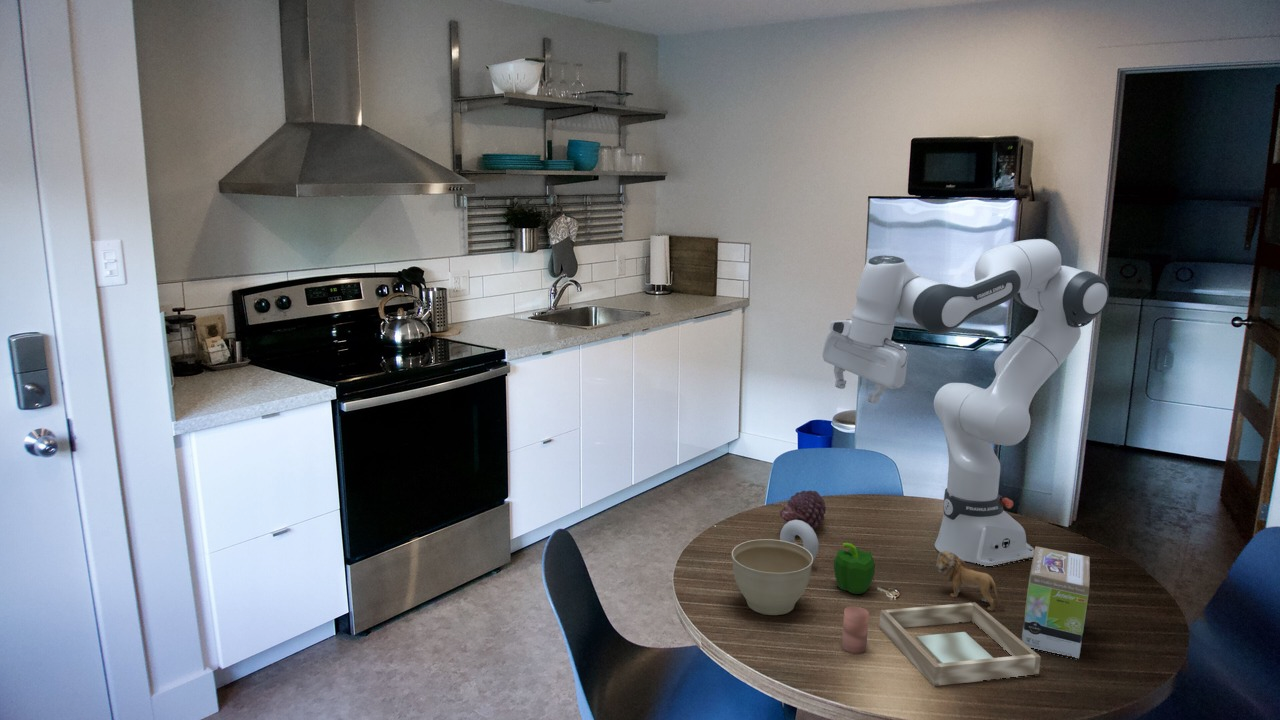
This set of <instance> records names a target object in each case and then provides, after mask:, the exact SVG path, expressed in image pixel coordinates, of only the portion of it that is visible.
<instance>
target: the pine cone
mask: <svg viewBox="0 0 1280 720" xmlns="http://www.w3.org/2000/svg"><path fill="white" fill-rule="evenodd" d="M826 507H827V506H826V501H825V500H824V498H822V496H821V495H820V493H819V492H818V491H816V490H802V491H801V492H795V494H794V495H791V497H790V499H788V501H787V504H786V503H784V505H783V508H782V510H781V511H779V515H780V517H781V518H782V519H783V520H784V521H785V523H788V522H789V521H792V520H800V521H803V522H805V523H807V524H808V525H809V526H810V527H811V528H812V529H813V530H814V531H815V530H816V528H817V527H820V526H821V525H822V521H824V520H825V514H826V509H827V508H826Z"/></svg>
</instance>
